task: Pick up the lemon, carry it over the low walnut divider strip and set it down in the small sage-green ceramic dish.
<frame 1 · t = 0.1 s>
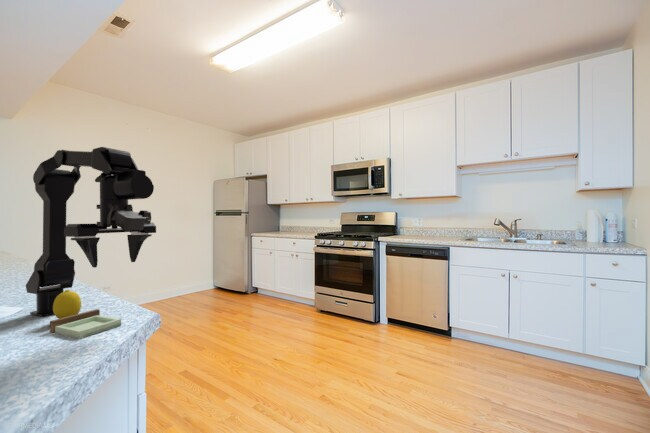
hand: (115, 264, 76), 15 cm above the counter, tool pointing down, fingers open, 9 cm apart
lemon: (67, 322, 79), on the counter
dish: (89, 329, 73), on the counter
divider: (76, 325, 76), on the counter
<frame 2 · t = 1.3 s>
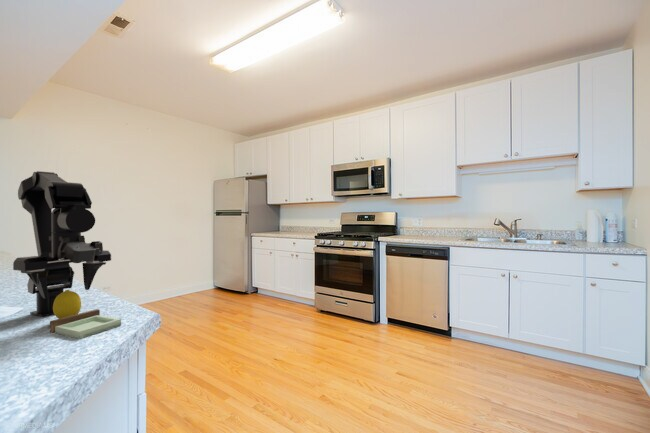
hand: (67, 293, 79), 7 cm above the counter, tool pointing down, fingers open, 9 cm apart
nothing on the counter moved.
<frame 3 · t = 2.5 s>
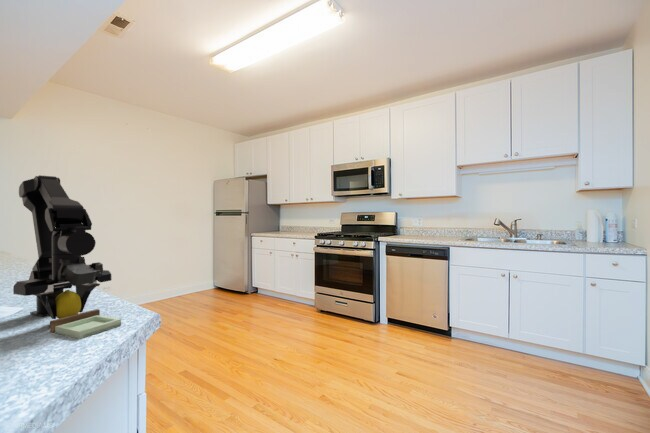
hand: (67, 315, 79), 2 cm above the counter, tool pointing down, fingers closed on lemon, 5 cm apart
lemon: (67, 322, 79), on the counter, touching gripper
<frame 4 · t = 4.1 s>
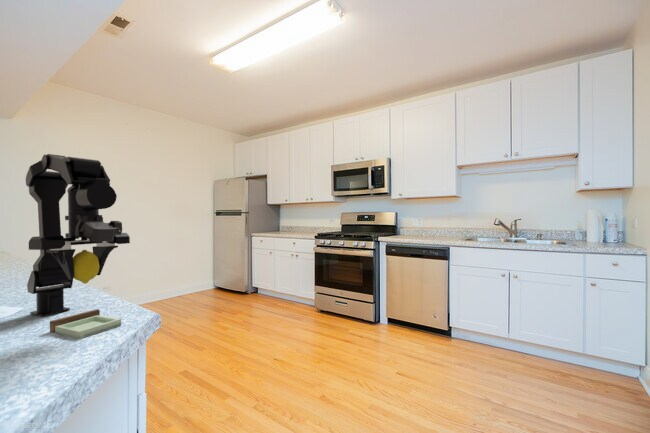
hand: (85, 277, 74), 12 cm above the counter, tool pointing down, fingers closed on lemon, 5 cm apart
lemon: (85, 284, 74), point 10 cm above the counter, touching gripper
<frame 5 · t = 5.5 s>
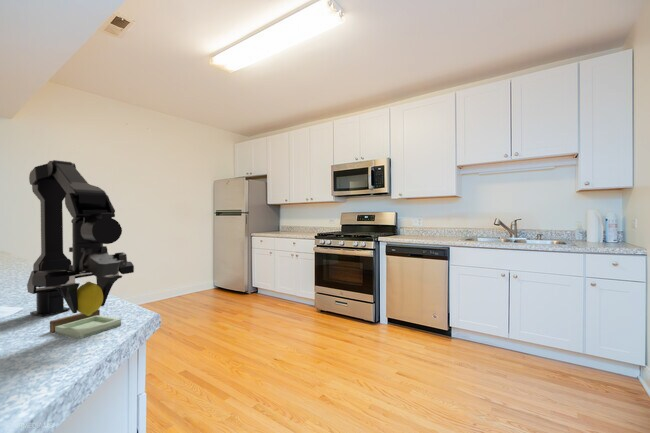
hand: (88, 309, 73), 5 cm above the counter, tool pointing down, fingers closed on lemon, 5 cm apart
lemon: (89, 316, 73), point 3 cm above the counter, touching gripper
when the fingers open (3 cm above the counter, at t = 6.2 s): lemon drops 1 cm, resting on dish.
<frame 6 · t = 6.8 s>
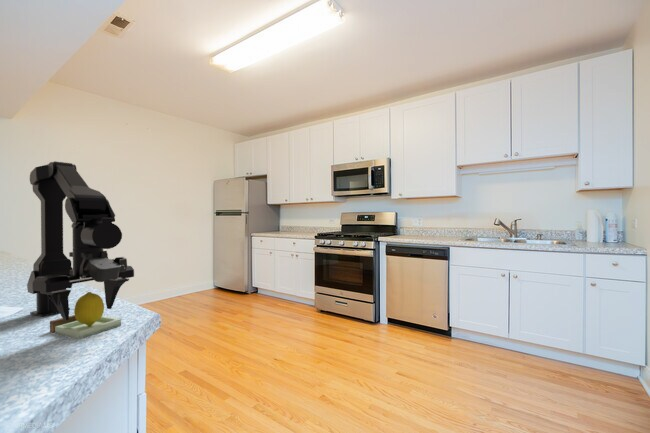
hand: (88, 314, 73), 3 cm above the counter, tool pointing down, fingers open, 9 cm apart
lemon: (90, 327, 73), resting on dish
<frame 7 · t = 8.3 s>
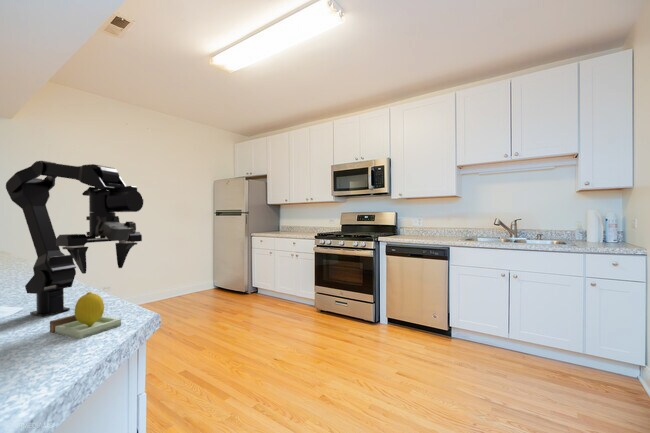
hand: (103, 270, 84), 12 cm above the counter, tool pointing down, fingers open, 9 cm apart
nothing on the counter moved.
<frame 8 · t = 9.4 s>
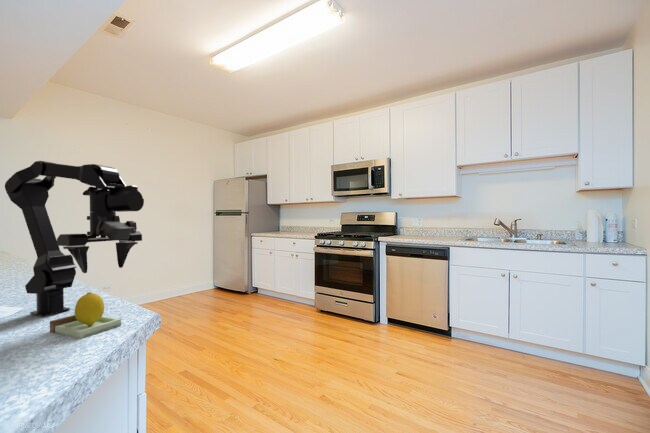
hand: (103, 270, 84), 12 cm above the counter, tool pointing down, fingers open, 9 cm apart
nothing on the counter moved.
at the end: lemon 0.2 cm from the dish (horizontally); lemon resting on dish; the gripper is holding nothing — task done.
